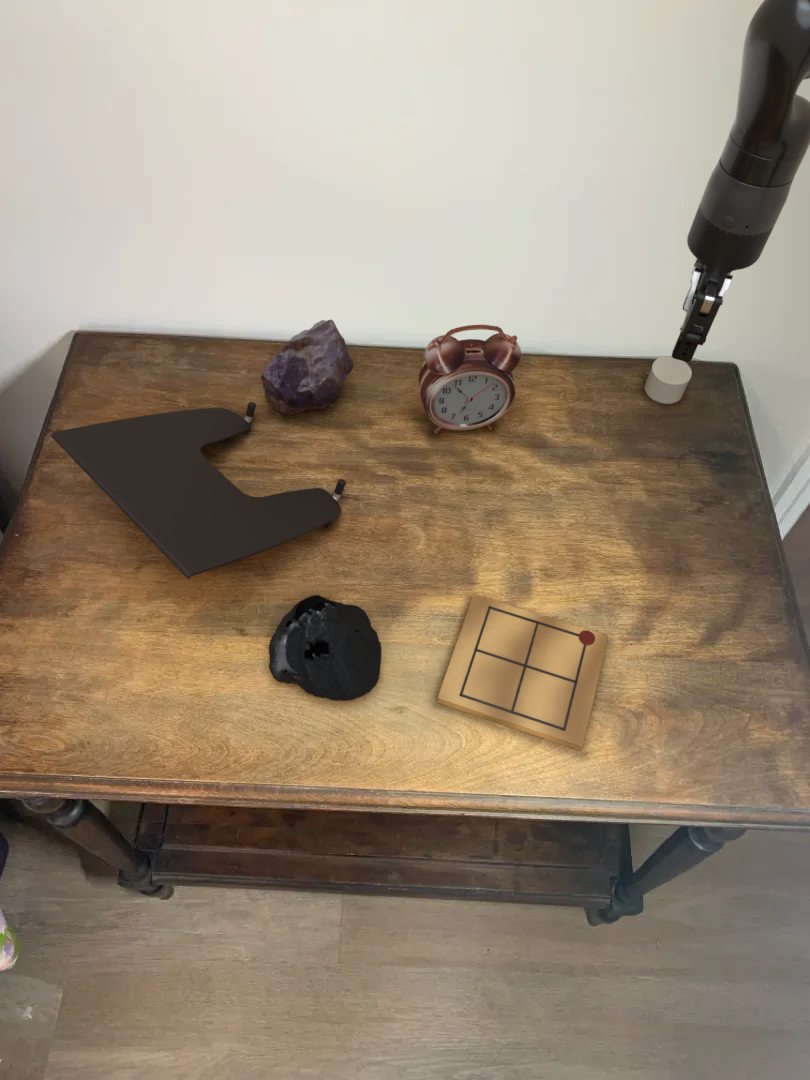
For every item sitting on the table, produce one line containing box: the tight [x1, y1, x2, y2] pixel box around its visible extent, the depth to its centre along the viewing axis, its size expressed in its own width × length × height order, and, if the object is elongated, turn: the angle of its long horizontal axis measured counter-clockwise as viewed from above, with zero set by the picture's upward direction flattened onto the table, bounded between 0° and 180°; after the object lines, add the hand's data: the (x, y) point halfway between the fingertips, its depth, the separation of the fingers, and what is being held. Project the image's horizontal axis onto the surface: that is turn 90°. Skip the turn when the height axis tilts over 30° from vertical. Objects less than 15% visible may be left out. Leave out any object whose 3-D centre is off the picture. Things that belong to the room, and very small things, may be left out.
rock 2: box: [268, 594, 382, 702], centre depth 78 cm, size 9×10×10 cm
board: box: [436, 593, 609, 751], centre depth 79 cm, size 14×12×1 cm
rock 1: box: [260, 319, 355, 416], centre depth 95 cm, size 12×9×10 cm
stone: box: [644, 355, 693, 405], centre depth 100 cm, size 5×5×3 cm
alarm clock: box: [418, 324, 522, 434], centre depth 91 cm, size 11×5×15 cm, turn 97°
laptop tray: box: [50, 401, 347, 580], centre depth 86 cm, size 23×23×9 cm
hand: (686, 333), depth 93 cm, fingers open, 8 cm apart
